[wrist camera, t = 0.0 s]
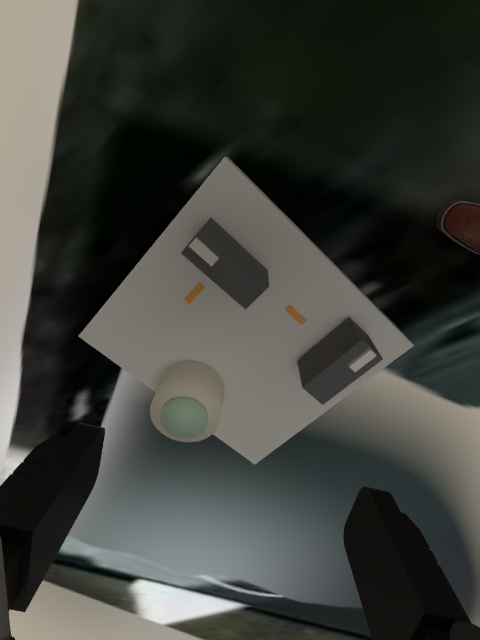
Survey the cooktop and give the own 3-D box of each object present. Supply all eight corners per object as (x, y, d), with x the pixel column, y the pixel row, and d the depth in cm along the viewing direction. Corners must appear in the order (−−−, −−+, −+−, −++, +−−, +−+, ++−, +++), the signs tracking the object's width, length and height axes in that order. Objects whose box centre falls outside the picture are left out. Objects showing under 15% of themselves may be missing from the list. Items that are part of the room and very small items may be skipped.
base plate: (227, 156, 27) (218, 156, 21) (403, 332, 33) (438, 375, 26) (90, 324, 34) (51, 363, 28) (255, 446, 40) (254, 503, 33)
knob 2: (297, 361, 31) (302, 390, 27) (349, 317, 29) (364, 342, 25) (315, 377, 32) (323, 408, 28) (368, 334, 30) (384, 362, 26)
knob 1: (247, 290, 29) (245, 311, 25) (191, 240, 27) (179, 254, 23) (267, 270, 28) (269, 288, 24) (210, 217, 27) (202, 227, 23)
